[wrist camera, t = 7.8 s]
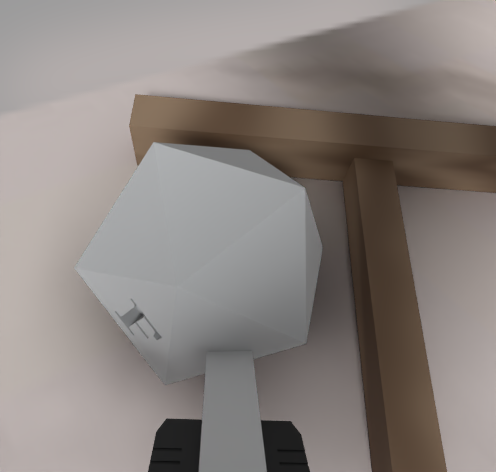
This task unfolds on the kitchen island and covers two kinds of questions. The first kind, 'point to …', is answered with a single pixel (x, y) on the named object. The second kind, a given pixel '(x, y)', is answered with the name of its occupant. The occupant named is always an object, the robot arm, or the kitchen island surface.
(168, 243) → the die
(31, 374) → the kitchen island surface
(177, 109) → the walnut T rail
